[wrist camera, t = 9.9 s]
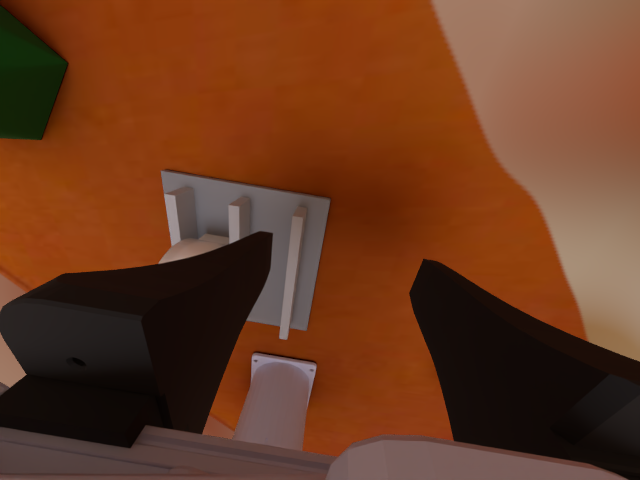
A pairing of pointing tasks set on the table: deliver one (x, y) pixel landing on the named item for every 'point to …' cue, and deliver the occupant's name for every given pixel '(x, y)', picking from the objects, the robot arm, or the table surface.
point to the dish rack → (250, 217)
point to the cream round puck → (194, 247)
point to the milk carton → (26, 80)
